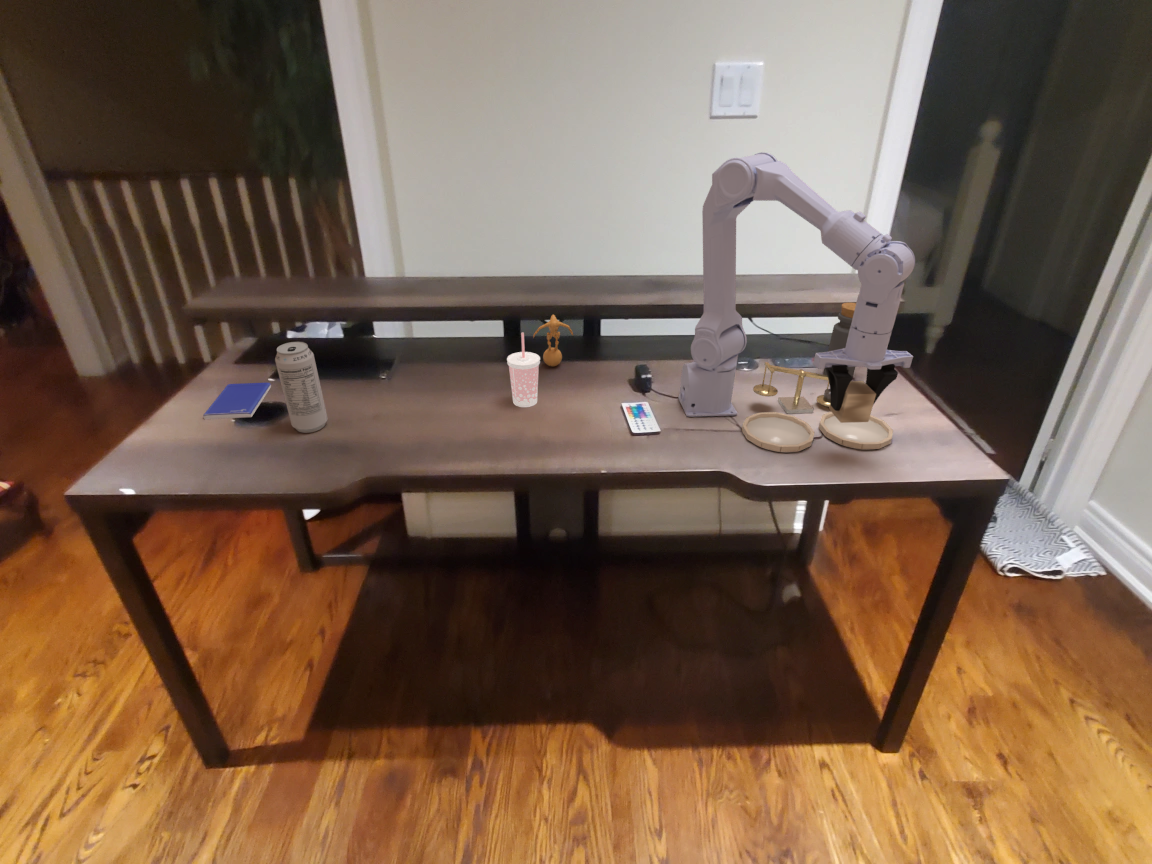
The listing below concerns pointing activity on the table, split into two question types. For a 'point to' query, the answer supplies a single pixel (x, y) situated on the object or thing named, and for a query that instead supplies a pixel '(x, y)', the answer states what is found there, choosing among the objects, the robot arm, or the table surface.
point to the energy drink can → (301, 386)
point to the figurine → (553, 354)
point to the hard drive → (238, 401)
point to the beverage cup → (524, 376)
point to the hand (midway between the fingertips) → (850, 407)
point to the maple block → (856, 403)
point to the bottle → (842, 331)
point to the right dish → (857, 432)
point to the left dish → (778, 432)
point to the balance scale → (796, 402)
